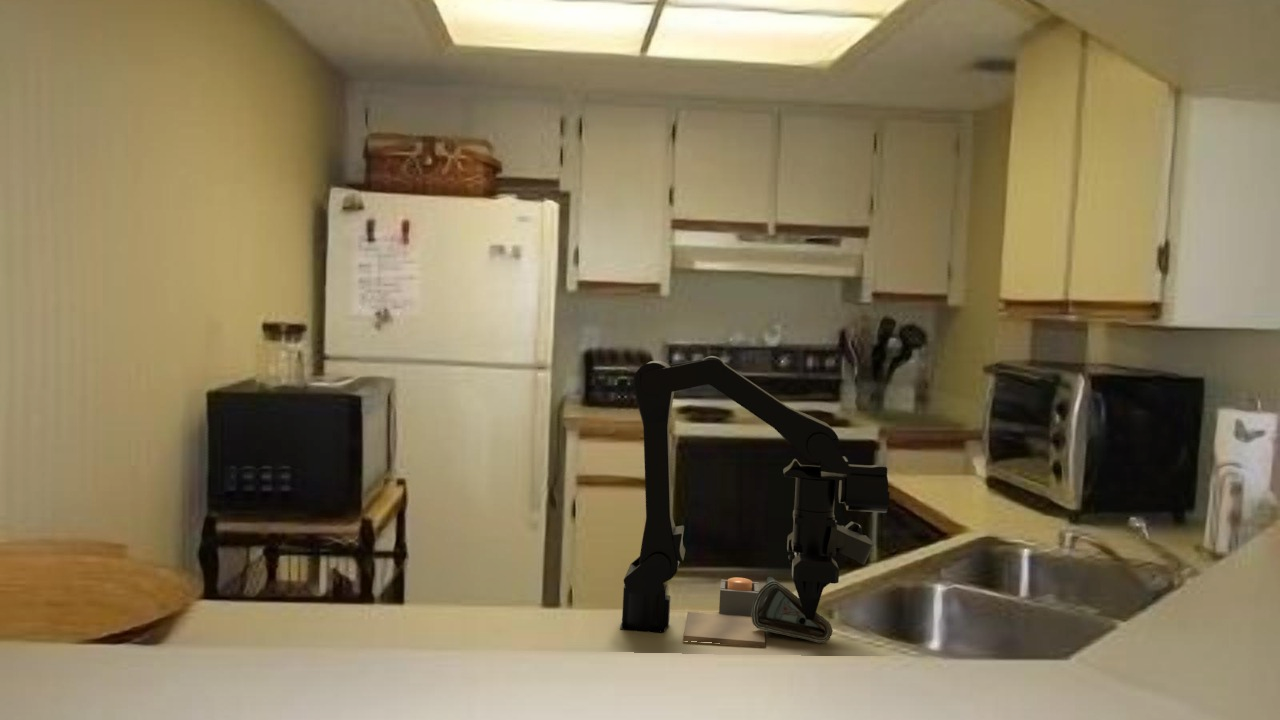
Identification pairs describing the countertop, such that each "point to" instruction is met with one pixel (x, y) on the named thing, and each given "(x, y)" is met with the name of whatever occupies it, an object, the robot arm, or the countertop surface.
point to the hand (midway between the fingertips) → (808, 613)
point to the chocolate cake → (786, 614)
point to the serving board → (722, 629)
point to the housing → (737, 600)
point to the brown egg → (739, 584)
